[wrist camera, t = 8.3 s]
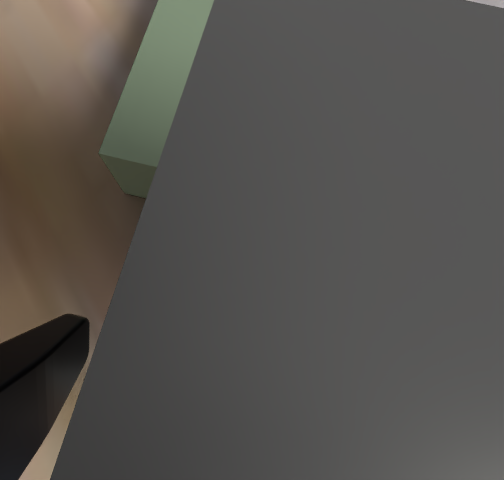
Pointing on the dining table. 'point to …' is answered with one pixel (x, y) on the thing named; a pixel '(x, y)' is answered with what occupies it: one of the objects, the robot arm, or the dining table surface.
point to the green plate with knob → (153, 93)
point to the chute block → (314, 257)
